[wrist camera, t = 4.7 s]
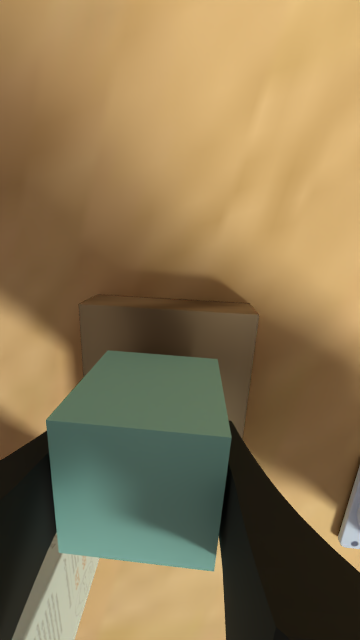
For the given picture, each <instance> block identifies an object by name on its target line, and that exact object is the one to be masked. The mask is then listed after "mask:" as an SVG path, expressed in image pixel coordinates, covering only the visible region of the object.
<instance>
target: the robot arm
mask: <svg viewBox="0 0 360 640" xmlns="http://www.w3.org/2000/svg"><path fill="white" fill-rule="evenodd" d="M228 421H229V420H228ZM229 426H230V432H231V437H232V438H231V445H230V453H229V460H228V468H227V476H226V483H225V491H224V499H223V506H222V514H221V521H220V529H219V541H220V548H221V557H222V568H223V585H224V604H225V625H226V640H360V572H359V571H357V570H356V569H355V568H354V567H353V566H352V565H351V564H350V563H349V562H347V561H346V560H345V559H344V558H343V557H342V556H341V555H340V554H338V553H337V552H336V551H335V550H334V549H333V548H332V547H331V546H330V545H329V544H328V543H327V542H326V541H325V540H324V539H323V538H322V537H321V536H320V535H319V534H318V533H317V532H316V531H315V530H314V529H313V528H312V527H311V526H310V525H309V524H308V523H307V522H306V521H305V520H304V519H303V518H302V517H301V516H300V515H299V514H298V513H297V512H296V511H295V509H294V508H293V507H292V506H291V505H290V504H289V503H288V501H287V500H286V499H285V498H284V497H283V496H282V494H281V493H280V492H279V491H278V489H277V488H276V487H275V486H274V484H273V483H272V482H271V481H270V479H269V478H268V477H267V475H266V474H265V473H264V471H263V470H262V468H261V467H260V466H259V464H258V463H257V461H256V460H255V458H254V457H253V455H252V454H251V452H250V451H249V449H248V448H247V446H246V444H245V443H244V441H243V440H242V438H241V436H240V434H239V433H238V431H237V429H236V427H235V425H234V424H233V422H232V421H229ZM56 532H57V529H56V519H55V509H54V498H53V488H52V478H51V467H50V457H49V446H48V436H47V431H45V432H44V433H43V434H41V435H40V436H38V437H37V438H35V439H34V440H32V441H31V442H29V443H28V444H26V445H24V446H23V447H21V448H20V449H18V450H17V451H15V452H13V453H12V454H10V455H9V456H7V457H5V458H4V459H2V460H0V640H12V638H13V635H14V633H15V630H16V627H17V625H18V622H19V620H20V617H21V615H22V612H23V610H24V607H25V605H26V602H27V600H28V597H29V595H30V592H31V590H32V587H33V585H34V582H35V580H36V578H37V575H38V573H39V570H40V568H41V566H42V563H43V561H44V558H45V556H46V554H47V551H48V549H49V547H50V545H51V543H52V541H53V538H54V536H55V534H56ZM338 540H339V542H340V544H341V546H343V547H346V548H355V549H360V466H359V469H358V473H357V476H356V479H355V483H354V486H353V489H352V493H351V496H350V499H349V502H348V506H347V509H346V512H345V516H344V519H343V522H342V526H341V529H340V532H339V535H338Z"/></svg>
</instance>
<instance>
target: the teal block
mask: <svg viewBox="0 0 360 640" xmlns="http://www.w3.org/2000/svg"><path fill="white" fill-rule="evenodd" d="M46 426H47V436H48V446H49V457H50V467H51V478H52V488H53V498H54V509H55V519H56V529H57V540H58V550H59V553H65V554H73V555H81V556H90V557H98V558H106V559H115V560H123V561H131V562H140V563H148V564H156V565H165V566H173V567H182V568H190V569H198V570H207V571H214V567H215V560H216V552H217V544H218V537H219V529H220V521H221V514H222V506H223V499H224V491H225V483H226V476H227V468H228V460H229V453H230V445H231V438H232V437H231V432H230V426H229V421H228V415H227V409H226V404H225V398H224V392H223V387H222V381H221V375H220V370H219V364H218V359H210V358H198V357H185V356H173V355H160V354H147V353H135V352H122V351H110V350H108V351H107V352H106V353H105V354H104V355H103V356H102V357H101V359H100V360H99V361H98V362H97V363H96V364H95V365H94V366H93V368H92V369H91V370H90V371H89V372H88V373H87V374H86V375H85V377H84V378H83V379H82V380H81V381H80V382H79V383H78V384H77V386H76V387H75V388H74V389H73V390H72V391H71V392H70V394H69V395H68V396H67V397H66V398H65V399H64V400H63V401H62V403H61V404H60V405H59V406H58V407H57V408H56V409H55V410H54V412H53V413H52V414H51V415H50V416H49V417H48V418H47V419H46Z"/></svg>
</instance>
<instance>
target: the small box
mask: <svg viewBox="0 0 360 640" xmlns="http://www.w3.org/2000/svg"><path fill="white" fill-rule="evenodd" d="M98 561H99V558H98V557H90V556H81V555H73V554H65V553H59V550H58V540H57V532H56V534H55V536H54V538H53V541H52V543H51V545H50V547H49V549H48V551H47V554H46V556H45V558H44V561H43V563H42V566H41V568H40V570H39V573H38V575H37V578H36V580H35V582H34V585H33V587H32V590H31V592H30V595H29V597H28V600H27V602H26V605H25V607H24V610H23V612H22V615H21V617H20V620H19V622H18V625H17V627H16V630H15V633H14V635H13V638H12V640H74V639H75V636H76V633H77V629H78V626H79V623H80V620H81V616H82V613H83V610H84V607H85V604H86V600H87V597H88V594H89V590H90V587H91V584H92V581H93V578H94V574H95V571H96V568H97V565H98Z"/></svg>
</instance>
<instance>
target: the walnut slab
mask: <svg viewBox="0 0 360 640" xmlns="http://www.w3.org/2000/svg"><path fill="white" fill-rule="evenodd" d="M79 316H80V331H81V346H82V361H83V376H84V377H85V375H86V374H87V373H88V372H89V371H90V370H91V369H92V368H93V366H94V365H95V364H96V363H97V362H98V361H99V360H100V359H101V357H102V356H103V355H104V354H105V353H106V352H107V351H108V350H110V351H122V352H135V353H147V354H160V355H173V356H185V357H198V358H210V359H218V364H219V370H220V375H221V381H222V387H223V392H224V398H225V404H226V409H227V415H228V420H229V421H232V422H233V424H234V425H235V427H236V429H237V431H238V433H239V434H240V436H241V438H242V440H243V432H244V425H245V417H246V410H247V402H248V395H249V387H250V380H251V372H252V365H253V357H254V350H255V343H256V335H257V328H258V320H259V314H258V313H257V312H256V311H255V309H254V308H253V307H252V306H251V305H250V304H249V303H234V302H217V301H199V300H182V299H164V298H147V297H129V296H112V295H96V296H94V297H92V298H90V299H88V300H86V301H84V302H82V303H80V304H79Z"/></svg>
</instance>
